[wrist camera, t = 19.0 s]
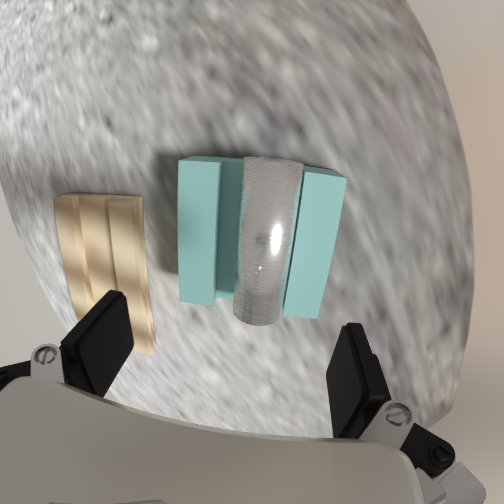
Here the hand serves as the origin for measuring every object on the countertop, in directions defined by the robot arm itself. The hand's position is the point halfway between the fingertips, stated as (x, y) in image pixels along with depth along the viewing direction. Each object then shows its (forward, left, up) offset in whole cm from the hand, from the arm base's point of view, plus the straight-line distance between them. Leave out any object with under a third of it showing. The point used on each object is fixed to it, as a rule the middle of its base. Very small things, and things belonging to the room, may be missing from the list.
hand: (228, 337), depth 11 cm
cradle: (0, 0, -15) cm, 15 cm away
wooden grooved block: (-7, +16, -15) cm, 23 cm away
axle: (0, 0, -12) cm, 12 cm away
